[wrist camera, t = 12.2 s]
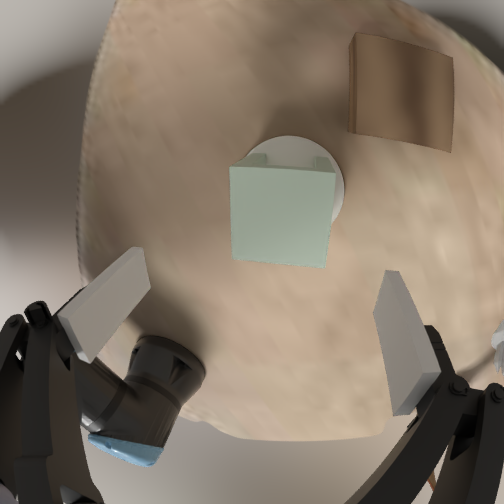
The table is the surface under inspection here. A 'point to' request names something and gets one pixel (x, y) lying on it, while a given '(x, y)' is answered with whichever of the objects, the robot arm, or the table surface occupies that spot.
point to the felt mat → (301, 160)
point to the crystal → (499, 347)
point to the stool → (281, 211)
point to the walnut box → (400, 92)
